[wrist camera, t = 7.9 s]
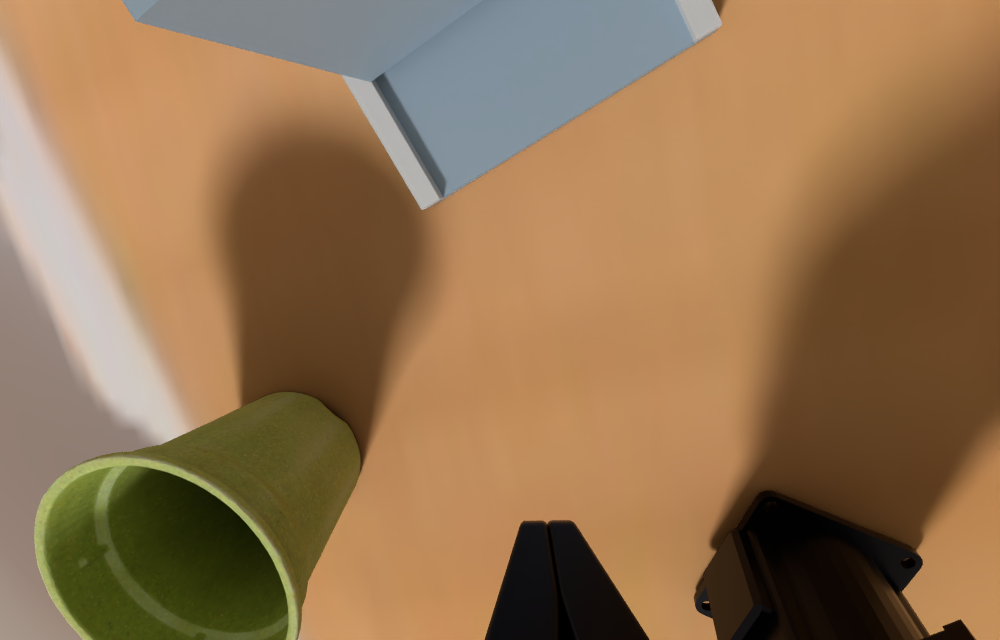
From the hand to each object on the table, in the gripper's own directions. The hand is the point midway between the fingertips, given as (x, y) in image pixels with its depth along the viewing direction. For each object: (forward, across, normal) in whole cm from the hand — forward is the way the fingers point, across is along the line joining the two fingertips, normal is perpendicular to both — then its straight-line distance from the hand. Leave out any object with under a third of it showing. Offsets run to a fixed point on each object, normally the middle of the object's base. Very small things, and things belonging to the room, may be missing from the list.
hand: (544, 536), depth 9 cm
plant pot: (+14, +9, +11) cm, 20 cm away
